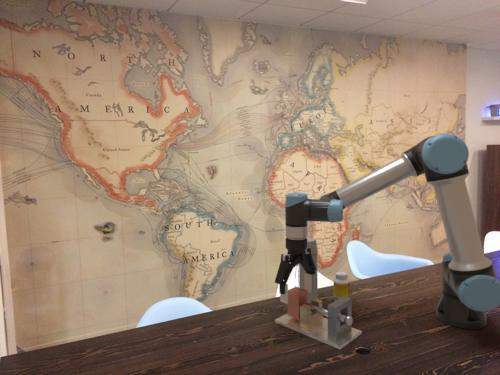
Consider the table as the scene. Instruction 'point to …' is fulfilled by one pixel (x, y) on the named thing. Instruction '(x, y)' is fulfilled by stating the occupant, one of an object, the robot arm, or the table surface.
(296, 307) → the mallet
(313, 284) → the water bottle
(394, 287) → the table surface
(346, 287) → the pill bottle
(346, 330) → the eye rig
